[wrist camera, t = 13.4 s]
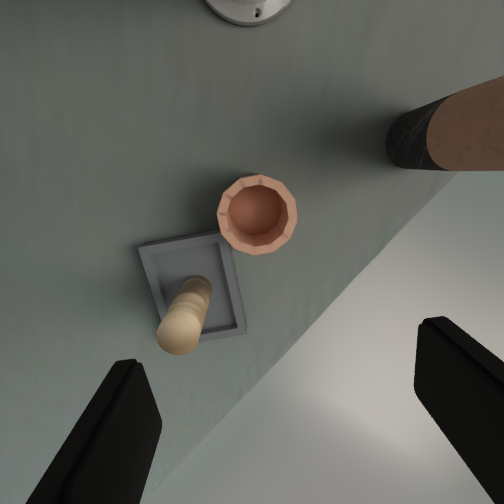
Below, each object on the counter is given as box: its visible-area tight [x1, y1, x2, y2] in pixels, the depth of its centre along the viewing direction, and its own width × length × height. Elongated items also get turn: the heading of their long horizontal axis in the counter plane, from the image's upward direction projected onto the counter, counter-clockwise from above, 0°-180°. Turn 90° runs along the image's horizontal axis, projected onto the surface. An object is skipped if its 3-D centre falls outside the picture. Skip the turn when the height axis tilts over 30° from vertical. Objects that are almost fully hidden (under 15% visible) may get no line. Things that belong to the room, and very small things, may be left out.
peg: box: [156, 275, 212, 355], centre depth 34 cm, size 4×4×12 cm
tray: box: [138, 229, 247, 342], centre depth 39 cm, size 16×12×2 cm
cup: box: [217, 174, 298, 255], centre depth 34 cm, size 9×9×7 cm
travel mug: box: [386, 76, 504, 171], centre depth 26 cm, size 8×8×20 cm
